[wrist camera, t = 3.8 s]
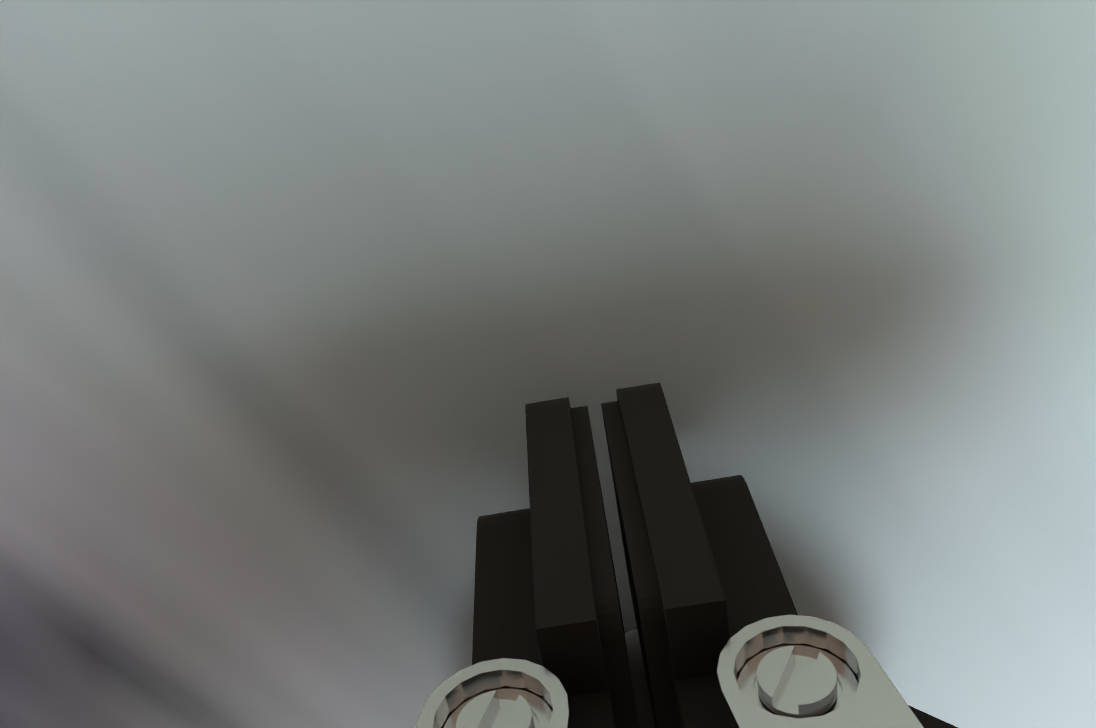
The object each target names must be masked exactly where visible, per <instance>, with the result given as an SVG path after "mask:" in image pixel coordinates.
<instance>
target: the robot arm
mask: <svg viewBox="0 0 1096 728" xmlns="http://www.w3.org/2000/svg"><path fill="white" fill-rule="evenodd" d="M616 392H617V400H618V401H615V402H608V403H602V404H601V406H602V412H603V419H604V425H605V432H606V438H607V444H608V451H609V457H610V463H611V470H612V476H613V482H614V489H615V495H616V502H617V508H618V514H619V521H620V527H621V533H622V540H623V546H624V552H625V559H626V565H627V572H628V578H629V584H630V590H631V596H632V602H633V607H634V613H635V619H636V624H637V630H638V636H639V641H640V647H641V652H642V658H643V664H644V669H645V675H646V681H647V686H648V692H649V698H650V703H651V709H652V714H653V720H654V726H655V728H957V727H955V726H953V725H951V724H949V723H946V722H944V721H942V720H940V719H937V718H935V717H933V716H931V715H929V714H926V713H924V712H922V711H920V710H918V709H915V708H913V707H911V706H909V705H908V704H907V703H906V702H905V700H904V699H903V697H902V696H901V694H900V693H899V691H898V690H897V689H896V687H895V686H894V684H893V683H892V681H891V680H890V679H889V677H888V676H887V674H886V673H885V671H884V670H883V668H882V667H881V666H880V664H879V663H878V661H877V660H876V658H875V657H874V656H873V654H872V653H871V651H870V650H869V649H868V648H867V647H866V646H865V645H864V643H863V642H862V641H861V640H860V639H859V638H858V637H857V636H856V635H855V634H853V633H851V632H850V631H848V630H846V629H845V628H843V627H841V626H839V625H838V624H836V623H833V622H830V621H826V620H823V619H820V618H816V617H813V616H800V615H798V614H797V612H796V609H795V607H794V604H793V602H792V599H791V596H790V594H789V591H788V589H787V586H786V584H785V581H784V579H783V576H782V573H781V571H780V568H779V566H778V563H777V561H776V558H775V556H774V553H773V550H772V548H771V545H770V543H769V540H768V538H767V535H766V533H765V530H764V527H763V525H762V522H761V520H760V517H759V515H758V512H757V510H756V507H755V504H754V502H753V499H752V497H751V494H750V492H749V489H748V487H747V484H746V482H745V480H744V478H743V477H742V476H741V475H738V476H732V477H725V478H719V479H713V480H706V481H700V482H694V483H690V480H689V477H688V473H687V470H686V467H685V463H684V460H683V457H682V454H681V450H680V447H679V444H678V440H677V437H676V434H675V430H674V427H673V424H672V421H671V417H670V414H669V411H668V407H667V404H666V401H665V397H664V394H663V391H662V388H661V385H660V383H654V384H648V385H641V386H635V387H629V388H623V389H617V390H616ZM525 409H526V431H527V452H528V474H529V495H530V508H529V509H523V510H517V511H510V512H504V513H498V514H492V515H485V516H479V518H478V521H477V536H476V565H475V595H474V624H473V653H472V666H469V667H467V668H464V669H462V670H460V671H458V672H457V673H455V674H454V675H452V676H451V677H449V678H448V679H446V680H445V681H444V682H442V683H441V684H440V685H439V686H438V687H437V688H436V690H435V691H434V692H433V693H432V694H431V695H430V696H429V698H428V699H427V700H426V702H425V705H424V707H423V709H422V711H421V713H420V715H419V717H418V721H417V725H416V728H640V726H639V720H638V714H637V708H636V701H635V695H634V689H633V683H632V676H631V670H630V664H629V658H628V651H627V645H626V639H625V633H624V626H623V620H622V614H621V608H620V601H619V595H618V589H617V583H616V577H615V571H614V565H613V559H612V553H611V546H610V540H609V534H608V528H607V522H606V516H605V510H604V504H603V498H602V492H601V486H600V480H599V474H598V468H597V462H596V455H595V449H594V443H593V437H592V431H591V425H590V419H589V413H588V407H587V406H584V407H578V408H571V407H570V402H569V397H567V398H561V399H555V400H549V401H543V402H536V403H530V404H526V407H525Z"/></svg>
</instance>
